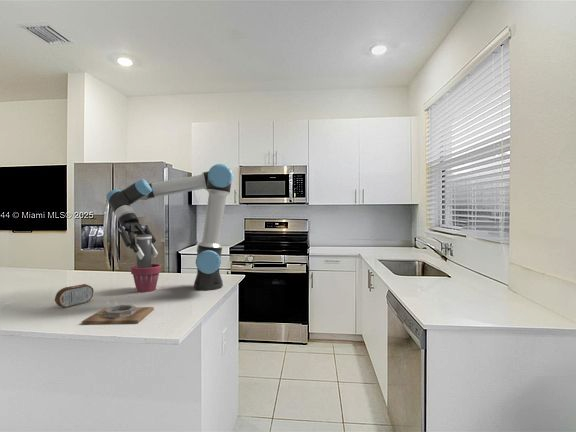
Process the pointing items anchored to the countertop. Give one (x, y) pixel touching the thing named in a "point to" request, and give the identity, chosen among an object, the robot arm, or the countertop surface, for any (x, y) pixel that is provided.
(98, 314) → the mount board
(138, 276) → the plant pot
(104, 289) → the countertop surface
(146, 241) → the dome-topped grey cylinder
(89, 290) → the tin
